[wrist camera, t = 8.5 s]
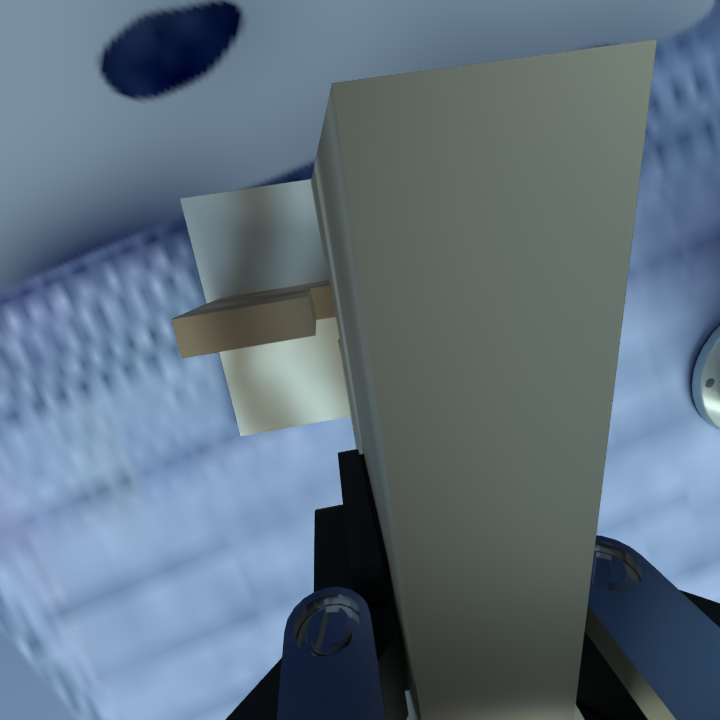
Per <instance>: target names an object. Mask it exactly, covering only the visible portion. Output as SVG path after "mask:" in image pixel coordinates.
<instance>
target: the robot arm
mask: <svg viewBox="0 0 720 720" xmlns="http://www.w3.org/2000/svg"><path fill="white" fill-rule="evenodd" d="M692 391H693V399H694V402H695V405H696V408H697V410H698V411H699V413H700V415H701V416H702V417H703V419H704V420H705V421H706V422H707V423H708V424H710V425H712V426H713V427H715V428H716V429H718V430H720V326H719V327H718V328H717V329H716V330H715V331H714V332H713V333H712V335H711V336H710V337H709V339H708V340H707V342H706V343H705V345H704V346H703V348H702V350H701V352H700V354H699V356H698V359H697V362H696V365H695V368H694V372H693V380H692ZM338 460H339V469H340V479H341V489H342V498H343V505H338V506H332V507H327V508H322V509H317V510H315V537H314V592H313V593H312V594H310V595H309V596H307V597H305V598H304V599H303V600H302V601H301V602H300V603H299V604H298V605H297V606H296V607H295V608H294V609H293V611H292V613H291V614H290V616H289V618H288V619H287V623H286V627H285V631H284V641H283V653H282V658H281V659H280V660H279V661H278V663H277V664H276V665H275V666H274V667H273V668H272V669H271V670H270V671H269V672H268V674H267V675H266V676H265V677H264V678H263V679H262V680H261V681H260V682H259V683H258V685H257V686H256V687H255V688H254V689H253V690H252V691H251V692H250V693H249V694H248V696H247V697H246V698H245V699H244V700H243V701H242V702H241V703H240V704H239V705H238V707H237V708H236V709H235V710H234V711H233V712H232V713H231V714H230V715H229V716H228V717H227V719H226V720H406V719H407V717H408V715H409V713H408V707H407V701H406V695H405V691H407V690H409V684H408V678H407V672H406V666H405V660H404V653H403V647H402V641H401V635H400V629H399V623H398V617H397V611H396V604H395V598H394V592H393V586H392V580H391V574H390V568H389V563H388V558H387V553H386V549H385V544H384V540H383V536H382V531H381V527H380V523H379V518H378V514H377V510H376V505H375V501H374V497H373V492H372V488H371V484H370V479H369V475H368V471H367V466H366V462H365V458H364V454H359V450H358V449H355V450H350V451H345V452H339V453H338ZM574 720H720V603H717V602H714V601H711V600H708V599H705V598H702V597H699V596H696V595H693V594H690V593H687V592H684V591H681V590H678V589H677V588H676V587H675V586H674V585H673V584H672V583H671V582H670V581H669V580H668V579H666V578H665V577H664V576H663V575H662V574H661V573H660V572H659V571H658V570H657V569H656V568H655V567H654V566H652V565H651V564H650V563H649V562H648V561H647V560H646V559H645V558H644V557H643V556H642V555H640V554H639V553H638V552H636V551H635V550H634V549H632V548H631V547H630V546H628V545H625V544H623V543H621V542H619V541H617V540H614V539H611V538H608V537H604V536H598V535H596V541H595V549H594V557H593V565H592V574H591V582H590V590H589V598H588V606H587V614H586V623H585V631H584V639H583V647H582V655H581V663H580V672H579V680H578V688H577V696H576V704H575V712H574Z"/></svg>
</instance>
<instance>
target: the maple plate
mask: <svg viewBox="0 0 720 720" xmlns="http://www.w3.org/2000/svg"><path fill="white" fill-rule="evenodd" d="M656 42H657V39H655V40H647V41H640V42H632V43H625V44H618V45H610V46H603V47H596V48H588V49H581V50H573V51H566V52H559V53H551V54H544V55H536V56H530V57H522V58H514V59H507V60H500V61H492V62H485V63H477V64H470V65H463V66H455V67H449V68H440V69H434V70H426V71H418V72H411V73H404V74H396V75H389V76H381V77H374V78H367V79H359V80H352V81H344V82H337V83H332V86H331V90H330V95H329V100H328V104H327V109H326V114H325V118H324V123H323V128H322V133H321V137H320V142H319V147H318V151H317V156H316V160H315V165H314V170H313V174H312V179H311V186H312V192H313V198H314V204H315V209H316V215H317V221H318V227H319V233H320V239H321V244H322V250H323V253H324V257H325V260H326V264H327V268H328V273H329V279H330V285H331V291H332V297H333V303H334V309H335V315H336V321H337V326H338V332H339V338H340V339H338V344H339V349H340V355H341V361H342V367H343V373H344V378H345V384H346V390H347V396H348V402H349V408H350V413H351V419H352V425H353V431H354V437H355V443H356V448H357V449H358V450H359V454H364V458H365V462H366V466H367V471H368V475H369V479H370V484H371V488H372V492H373V497H374V501H375V505H376V510H377V514H378V518H379V523H380V527H381V531H382V536H383V540H384V544H385V549H386V553H387V558H388V563H389V568H390V574H391V580H392V586H393V592H394V598H395V604H396V611H397V617H398V623H399V629H400V635H401V641H402V647H403V653H404V660H405V666H406V672H407V678H408V684H409V690H407V691H405V695H406V701H407V707H408V713H409V715H408V720H574V712H575V704H576V696H577V688H578V680H579V672H580V663H581V655H582V647H583V639H584V631H585V623H586V614H587V606H588V598H589V590H590V582H591V574H592V565H593V557H594V549H595V541H596V533H597V524H598V516H599V508H600V500H601V492H602V484H603V475H604V467H605V459H606V451H607V443H608V435H609V426H610V418H611V410H612V402H613V394H614V386H615V377H616V369H617V361H618V353H619V345H620V337H621V328H622V320H623V312H624V304H625V296H626V287H627V279H628V271H629V263H630V255H631V247H632V238H633V230H634V222H635V214H636V206H637V198H638V189H639V181H640V173H641V165H642V157H643V149H644V140H645V132H646V124H647V116H648V108H649V100H650V91H651V83H652V75H653V67H654V59H655V50H656Z"/></svg>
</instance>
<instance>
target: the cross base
mask: <svg viewBox="0 0 720 720" xmlns="http://www.w3.org/2000/svg"><path fill="white" fill-rule="evenodd" d="M180 201H181V205H182V209H183V213H184V217H185V220H186V224H187V228H188V232H189V236H190V240H191V244H192V248H193V252H194V256H195V259H196V263H197V267H198V271H199V275H200V279H201V283H202V287H203V291H204V295H205V299H206V302H207V304H205V305H203V306H201V307H198V308H196V309H194V310H191V311H189V312H187V313H185V314H182V315H180V316H178V317H175V318H173V319H171V321H172V325H173V328H174V332H175V335H176V339H177V343H178V346H179V350H180V353H181V357H182V358H187V357H193V356H199V355H205V354H211V353H216V352H219V353H220V357H221V361H222V365H223V369H224V373H225V377H226V380H227V384H228V388H229V392H230V396H231V400H232V404H233V408H234V412H235V416H236V420H237V423H238V427H239V431H240V435H241V436H245V435H251V434H256V433H262V432H267V431H273V430H278V429H284V428H289V427H295V426H300V425H305V424H311V423H316V422H322V421H327V420H333V419H338V418H344V417H349V416H351V413H350V408H349V402H348V396H347V390H346V384H345V378H344V373H343V367H342V361H341V355H340V349H339V344H338V339H340V338H339V332H338V326H337V321H336V315H335V309H334V303H333V297H332V291H331V285H330V279H329V273H328V268H327V264H326V260H325V257H324V253H323V250H322V244H321V239H320V233H319V227H318V221H317V215H316V209H315V204H314V198H313V192H312V186H311V179H308V180H302V181H295V182H288V183H281V184H275V185H268V186H261V187H255V188H248V189H241V190H234V191H228V192H221V193H214V194H207V195H201V196H194V197H188V198H181V199H180Z"/></svg>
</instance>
